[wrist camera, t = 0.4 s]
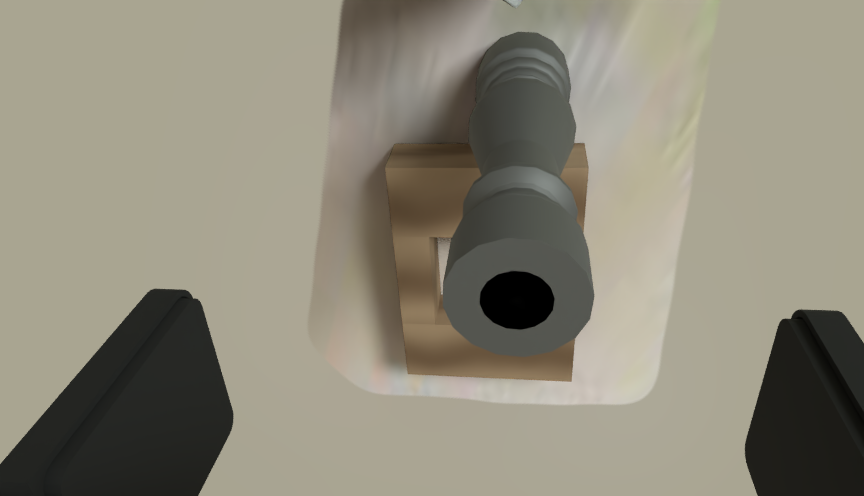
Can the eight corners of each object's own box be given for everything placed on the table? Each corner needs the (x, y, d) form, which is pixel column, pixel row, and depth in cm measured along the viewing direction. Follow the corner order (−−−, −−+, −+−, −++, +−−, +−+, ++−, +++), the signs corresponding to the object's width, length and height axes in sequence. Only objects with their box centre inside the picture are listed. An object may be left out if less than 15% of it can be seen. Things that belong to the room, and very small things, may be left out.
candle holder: (505, 133, 47) (486, 380, 27) (461, 61, 45) (403, 273, 24) (584, 92, 45) (629, 329, 24) (542, 13, 42) (553, 203, 22)
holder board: (394, 143, 49) (384, 167, 46) (584, 143, 47) (588, 168, 44) (414, 343, 60) (407, 374, 57) (569, 349, 58) (571, 381, 55)
